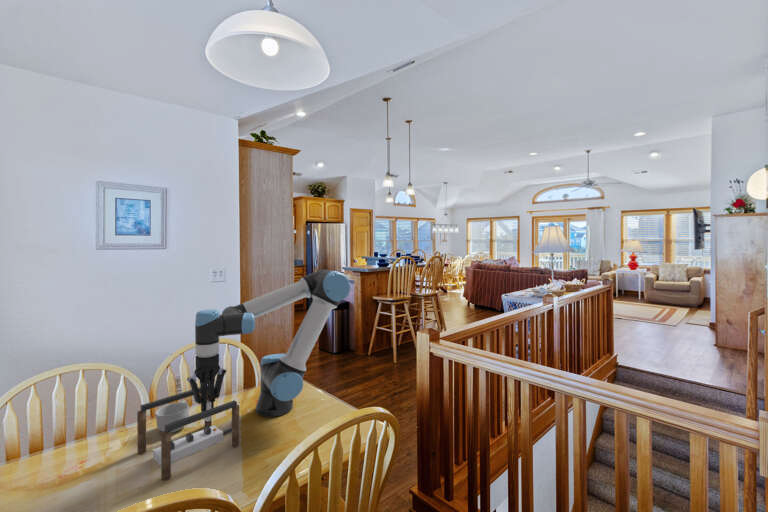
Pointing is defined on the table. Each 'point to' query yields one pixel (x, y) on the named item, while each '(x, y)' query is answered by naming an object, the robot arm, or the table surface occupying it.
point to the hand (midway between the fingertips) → (207, 419)
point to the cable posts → (167, 439)
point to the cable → (199, 416)
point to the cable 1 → (167, 400)
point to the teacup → (171, 414)
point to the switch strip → (192, 443)
